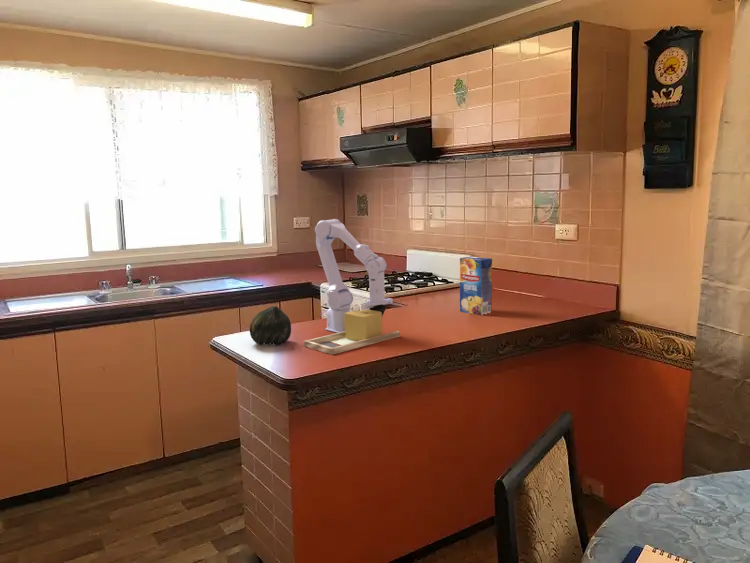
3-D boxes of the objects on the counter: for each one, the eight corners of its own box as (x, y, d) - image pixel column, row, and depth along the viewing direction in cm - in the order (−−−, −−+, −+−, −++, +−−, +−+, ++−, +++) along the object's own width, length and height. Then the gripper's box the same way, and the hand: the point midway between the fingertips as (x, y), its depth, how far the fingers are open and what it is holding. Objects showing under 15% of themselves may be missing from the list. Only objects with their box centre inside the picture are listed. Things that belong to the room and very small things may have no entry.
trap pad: (309, 346, 219) (309, 345, 219) (326, 342, 224) (326, 341, 224) (332, 353, 209) (332, 352, 209) (349, 348, 215) (349, 348, 214)
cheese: (362, 333, 235) (361, 307, 233) (384, 337, 228) (383, 311, 227) (344, 339, 227) (343, 312, 226) (366, 343, 220) (365, 316, 219)
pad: (328, 341, 225) (328, 341, 225) (353, 335, 233) (353, 335, 233) (351, 348, 215) (351, 347, 215) (376, 341, 223) (376, 341, 223)
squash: (245, 325, 229) (250, 301, 218) (283, 322, 235) (290, 298, 224) (251, 357, 221) (257, 333, 210) (291, 353, 227) (299, 329, 216)
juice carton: (491, 312, 267) (492, 258, 263) (480, 315, 262) (481, 260, 258) (470, 308, 276) (470, 256, 272) (459, 311, 271) (459, 258, 267)
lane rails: (304, 346, 219) (303, 340, 219) (371, 329, 241) (371, 324, 241) (331, 354, 207) (331, 349, 207) (400, 336, 230) (400, 331, 229)
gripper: (370, 293, 222) (371, 329, 224) (398, 288, 232) (398, 323, 234) (357, 291, 227) (358, 326, 229) (385, 286, 237) (385, 320, 239)
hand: (377, 324), depth 232 cm, fingers closed
